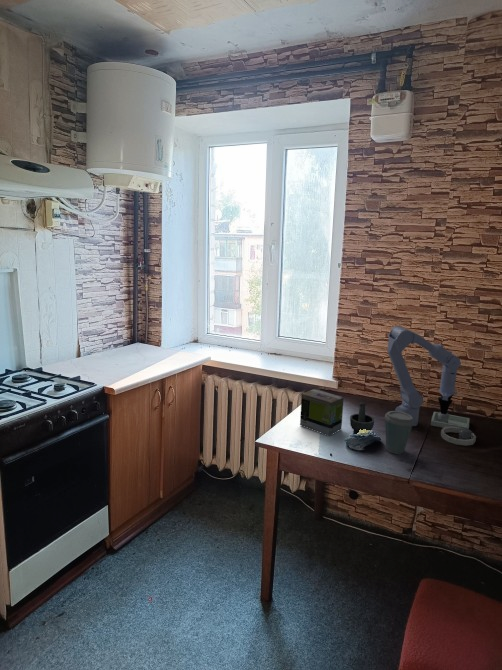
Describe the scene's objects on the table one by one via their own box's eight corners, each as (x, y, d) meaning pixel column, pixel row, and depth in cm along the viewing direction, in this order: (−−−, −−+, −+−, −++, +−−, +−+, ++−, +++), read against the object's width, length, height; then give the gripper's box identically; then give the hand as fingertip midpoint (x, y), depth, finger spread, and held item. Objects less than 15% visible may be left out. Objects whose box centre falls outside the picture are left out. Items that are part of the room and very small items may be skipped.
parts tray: (430, 427, 192) (431, 420, 191) (433, 417, 202) (433, 411, 201) (467, 434, 185) (468, 428, 185) (468, 424, 195) (469, 418, 195)
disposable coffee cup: (386, 441, 177) (390, 406, 174) (414, 449, 171) (418, 413, 168) (377, 451, 169) (380, 414, 165) (405, 460, 163) (410, 422, 159)
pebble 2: (464, 443, 176) (465, 433, 175) (456, 438, 180) (457, 429, 179) (473, 441, 177) (474, 432, 176) (465, 436, 181) (466, 427, 181)
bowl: (456, 449, 172) (457, 442, 172) (434, 435, 184) (435, 428, 183) (481, 445, 176) (482, 438, 176) (458, 432, 188) (459, 425, 187)
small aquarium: (342, 429, 187) (344, 396, 184) (329, 437, 180) (331, 403, 176) (312, 419, 197) (314, 387, 194) (299, 425, 190) (300, 393, 186)
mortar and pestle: (373, 440, 178) (375, 412, 175) (349, 437, 180) (351, 410, 177) (371, 428, 189) (374, 402, 186) (349, 426, 191) (351, 399, 188)
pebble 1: (441, 424, 192) (443, 416, 191) (434, 420, 196) (436, 412, 195) (450, 423, 193) (451, 415, 192) (443, 419, 197) (444, 411, 196)
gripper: (457, 387, 182) (453, 418, 185) (459, 377, 195) (455, 406, 198) (438, 384, 185) (435, 415, 188) (441, 375, 198) (438, 403, 201)
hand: (444, 410), depth 193 cm, fingers open, 7 cm apart
